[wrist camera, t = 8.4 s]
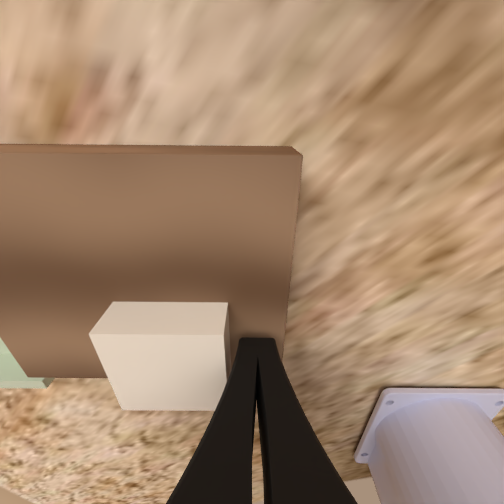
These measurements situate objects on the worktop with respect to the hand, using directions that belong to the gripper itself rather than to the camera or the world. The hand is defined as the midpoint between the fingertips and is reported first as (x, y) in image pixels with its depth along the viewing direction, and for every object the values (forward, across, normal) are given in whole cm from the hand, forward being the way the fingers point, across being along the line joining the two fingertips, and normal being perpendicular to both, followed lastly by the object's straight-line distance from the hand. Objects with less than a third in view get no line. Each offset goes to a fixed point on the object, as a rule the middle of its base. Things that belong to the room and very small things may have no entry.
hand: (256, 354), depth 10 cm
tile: (+1, +3, 0) cm, 3 cm away
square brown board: (+3, +5, -2) cm, 6 cm away
